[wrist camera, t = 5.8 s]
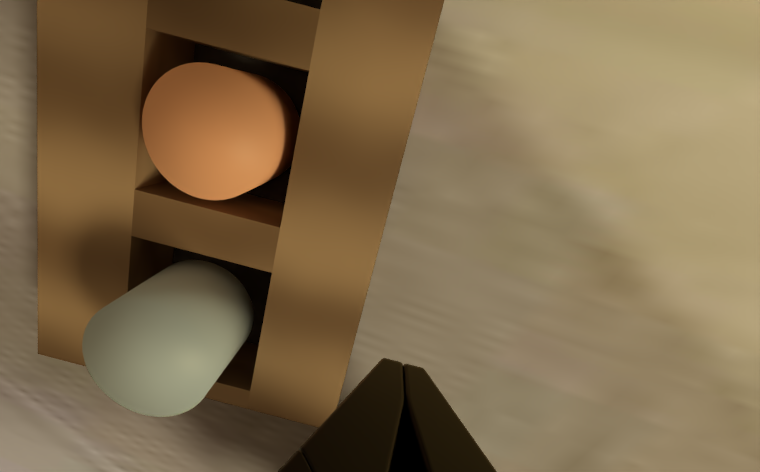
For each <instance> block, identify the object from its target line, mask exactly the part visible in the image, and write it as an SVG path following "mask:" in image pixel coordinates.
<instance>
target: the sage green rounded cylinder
mask: <svg viewBox="0 0 760 472" xmlns="http://www.w3.org/2000/svg"><path fill="white" fill-rule="evenodd" d="M253 320H254V312H253V306H252V302H251V299H250V297H249V295H248V292H247V291H246V289H245V288H244V286H243V285H242V284H241V282H240V281H239V280H238V279H237V278H236V277H235V276H234V275H233V274H231V273H230V272H229V271H227V270H226V269H224V268H222V267H220V266H218V265H216V264H214V263H211V262H207V261H202V260H185V261H180V262H177V263H174V264H172V265H170V266H168V267H167V268H165V269H164V270H162V271H160V272H159V273H157V274H156V275H154V276H152V277H151V278H149V279H148V280H146V281H145V282H143V283H141V284H140V285H138V286H137V287H135V288H133V289H132V290H130V291H129V292H127V293H126V294H124V295H122V296H121V297H119V298H118V299H116V300H114V301H113V302H111V303H110V304H108V305H107V306H105V307H103V308H102V309H101V310H99V311H98V312H97V313H96V314H95V315H94V316H93V317H92V318H91V320H90V321H89V322H88V324H87V326H86V329H85V331H84V335H83V342H82V351H83V357H84V361H85V364H86V367H87V369H88V371H89V373H90V375H91V377H92V378H93V380H94V381H95V383H96V384H97V385H98V387H99V388H100V389H101V390H102V391H103V392H104V393H105V394H106V395H107V396H108V397H110V398H111V399H112V400H113V401H115V402H116V403H118V404H119V405H121V406H123V407H125V408H126V409H129V410H131V411H133V412H136V413H139V414H143V415H147V416H154V417H168V416H175V415H179V414H182V413H184V412H187V411H189V410H190V409H192V408H194V407H195V406H196V405H197V404H199V403H200V402H201V400H202V399H203V398H204V397H205V395H206V394H207V393H208V391H209V390H210V389H211V387H212V386H213V385H214V383H215V382H216V380H217V379H218V378H219V376H220V375H221V374H222V372H223V371H224V369H225V368H226V367H227V365H228V364H229V363H230V361H231V360H232V359H233V357H234V356H235V354H236V353H237V352H238V350H239V349H240V348H241V346H242V345H243V344H244V342H245V341H246V339H247V338H248V336H249V334H250V332H251V330H252V326H253Z"/></svg>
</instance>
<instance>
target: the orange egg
mask: <svg viewBox="0 0 760 472" xmlns="http://www.w3.org/2000/svg"><path fill="white" fill-rule="evenodd" d="M299 123H300V118H299V115H298V112H297V110H296V107H295V105H294V103H293V102H292V100H291V99H290V97H289V96H288V94H287V93H286V92H285V91H284V90H283V89H282V88H281V87H280V86H278V85H277V84H276V83H274V82H273V81H271V80H270V79H267V78H265V77H263V76H260V75H257V74H253V73H249V72H245V71H240V70H236V69H232V68H228V67H224V66H220V65H215V64H210V63H201V62H196V63H187V64H184V65H180V66H178V67H175V68H173V69H171V70H170V71H168V72H166V73H165V74H164V75H163V76H162V77H160V78H159V79H158V80H157V82H156V83H155V84H154V85H153V87H152V88H151V90H150V92H149V94H148V96H147V98H146V101H145V104H144V108H143V114H142V131H143V138H144V142H145V145H146V148H147V151H148V153H149V155H150V157H151V160H152V161H153V163H154V165H155V166H156V168H157V169H158V170H159V172H160V173H161V174H162V175H163V176H164V177H165V178H166V179H167V180H168V181H169V182H170V183H171V184H172V185H174V186H175V187H176V188H178V189H179V190H181V191H183V192H185V193H187V194H189V195H191V196H194V197H197V198H201V199H206V200H225V199H230V198H233V197H236V196H239V195H241V194H243V193H245V192H247V191H249V190H251V189H253V188H255V187H258V186H260V185H262V184H264V183H266V182H268V181H270V180H272V179H274V178H276V177H278V176H280V175H281V174H282V173H284V172H285V171H286V170H287V169H288V168H289V167H290V165H291V164H292V161H293V156H294V150H295V145H296V139H297V134H298V129H299Z"/></svg>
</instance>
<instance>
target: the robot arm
mask: <svg viewBox="0 0 760 472" xmlns="http://www.w3.org/2000/svg"><path fill="white" fill-rule="evenodd" d="M278 472H496V470H495V469H494V467H493V466H492V465H491V463H490V462H489V460H488V459H487V457H486V456H485V455H484V453H483V452H482V450H481V449H480V448H479V446H478V445H477V443H476V442H475V440H474V439H473V438H472V436H471V435H470V433H469V432H468V430H467V429H466V428H465V426H464V425H463V423H462V422H461V421H460V419H459V418H458V416H457V415H456V413H455V412H454V411H453V409H452V408H451V406H450V405H449V404H448V402H447V401H446V399H445V398H444V396H443V395H442V394H441V392H440V391H439V389H438V388H437V386H436V385H435V384H434V382H433V381H432V379H431V378H430V377H429V375H428V374H427V372H426V371H425V370H424V369H423V368H421V367H417V366H413V365H409V364H404V365H402V363H401V362H398V361H394V360H390V359H386V358H383V359H382V360H381V361H380V362H379V363H378V364H377V365H376V366H375V367H374V368H373V369H372V370H371V371H370V373H369V374H368V375H367V376H366V377H365V378H364V379H363V380H362V381H361V382H360V383H359V384H358V386H357V387H356V388H355V389H354V390H353V391H352V392H351V393H350V394H349V395H348V396H347V398H346V399H345V400H344V401H343V402H342V403H341V404H340V405H339V406H338V407H337V408H336V409H335V411H334V412H333V413H332V414H331V415H330V416H329V417H328V418H327V419H326V420H325V421H324V423H323V424H322V425H321V426H320V427H319V428H318V429H317V430H316V431H315V432H314V433H313V434H312V436H311V437H310V438H309V439H308V440H307V441H306V442H305V443H304V444H303V445H302V446H301V448H300V449H299V451H297V452H296V453H295V454H294V455H293V456H292V457H291V458H290V459H289V460H288V461H287V462H286V463H285V465H284V466H283V467H282V468H281V469H280V470H279V471H278Z"/></svg>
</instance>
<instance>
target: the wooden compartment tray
mask: <svg viewBox="0 0 760 472" xmlns="http://www.w3.org/2000/svg"><path fill="white" fill-rule="evenodd" d="M443 3H444V0H322V4H321V9H317V8H313V7H309V6H305V5H301V4H298V3H294V2H290V1H286V0H37V174H38V354H41V355H45V356H49V357H52V358H56V359H60V360H64V361H68V362H71V363H75V364H79V365H83V366H86V364H85V361H84V357H83V351H82V342H83V335H84V331H85V329H86V326H87V324H88V322H89V321H90V320H91V318H92V317H93V316H94V315H95V314H96V313H97V312H98V311H99V310H101V309H102V308H103V307H105V306H107V305H108V304H110V303H111V302H113V301H114V300H116V299H118V298H119V297H121V296H122V295H124V294H126V293H127V292H129V291H130V290H132V289H133V288H135V287H137V286H138V285H140V284H141V283H143V282H145V281H146V280H148V279H149V278H151V277H152V276H154V275H156V274H157V273H159V272H160V271H162V270H164V269H165V268H167V267H168V266H170V265H172V263H173V253H174V247H176V248H179V249H183V250H187V251H191V252H195V253H198V254H202V255H206V256H210V257H214V258H218V259H221V260H225V261H229V262H233V263H237V264H240V265H244V266H248V267H252V268H256V269H259V270H263V271H267V272H271V273H272V275H271V281H270V286H269V292H268V297H267V303H266V308H265V313H264V319H263V324H262V330H261V335H260V341H259V345H257V344H254V343H250V342H246V341H245V342H244V344H243V345H242V346H241V348H240V349H239V350H238V352H237V353H236V354H235V356H234V357H233V359H232V360H231V361H230V363H229V364H228V365H227V367H226V368H225V369H224V371H223V372H222V374H221V375H220V376H219V378H218V379H217V380H216V382H215V383H214V385H213V386H212V387H211V389H210V390H209V391H208V393H207V394H206V395H205V397H204V398H208V399H212V400H216V401H220V402H223V403H227V404H231V405H235V406H239V407H242V408H246V409H250V410H254V411H258V412H261V413H265V414H269V415H273V416H277V417H280V418H284V419H288V420H292V421H296V422H299V423H303V424H307V425H311V426H315V427H320V426H321V425H322V424H323V423H324V421H325V420H326V419H327V418H328V417H329V416H330V415H331V414H332V413H333V412H334V411H335V409H336V408H337V405H338V401H339V397H340V393H341V390H342V386H343V382H344V378H345V374H346V371H347V367H348V363H349V359H350V355H351V352H352V348H353V344H354V340H355V336H356V333H357V329H358V325H359V321H360V318H361V314H362V310H363V306H364V302H365V299H366V295H367V291H368V287H369V283H370V280H371V276H372V272H373V268H374V264H375V261H376V257H377V253H378V249H379V245H380V242H381V238H382V234H383V230H384V227H385V223H386V219H387V215H388V211H389V208H390V204H391V200H392V196H393V192H394V189H395V185H396V181H397V177H398V173H399V170H400V166H401V162H402V158H403V155H404V151H405V147H406V143H407V139H408V136H409V132H410V128H411V124H412V120H413V117H414V113H415V109H416V105H417V101H418V98H419V94H420V90H421V86H422V82H423V79H424V75H425V71H426V67H427V64H428V60H429V56H430V52H431V48H432V45H433V41H434V37H435V33H436V29H437V26H438V22H439V18H440V14H441V10H442V7H443ZM195 43H196V44H200V45H203V46H207V47H211V48H215V49H219V50H222V51H226V52H230V53H234V54H238V55H242V56H245V57H249V58H253V59H257V60H261V61H264V62H268V63H272V64H276V65H280V66H284V67H287V68H291V69H295V70H299V71H303V72H306V73H309V74H308V80H307V85H306V91H305V96H304V101H303V107H302V112H301V118H300V123H299V129H298V134H297V139H296V145H295V150H294V156H293V161H292V167H291V172H290V178H289V183H288V188H287V194H286V199H285V203H281V202H277V201H273V200H270V199H266V198H262V197H258V196H254V195H251V194H247V193H243V194H241V195H239V196H236V197H233V198H230V199H225V200H206V199H201V198H197V197H194V196H191V195H189V194H187V193H185V192H183V191H181V190H179V189H178V188H176V187H175V186H174V185H172V184H171V183H170V182H169V181H168V180H167V179H166V178H165V177H164V176H163V175H162V174H161V173H160V172H159V170H158V169H157V168H156V166H155V165H154V163H153V161H152V160H151V157H150V155H149V153H148V151H147V148H146V145H145V142H144V138H143V131H142V114H143V108H144V104H145V101H146V98H147V96H148V94H149V92H150V90H151V88H152V87H153V85H154V84H155V83H156V82H157V80H158V79H159V78H160V77H162V76H163V75H164V74H165V73H166V72H168V71H170V70H171V69H173V68H175V67H178V66H180V65H184V64H187V63H193V61H194V51H195Z"/></svg>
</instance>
